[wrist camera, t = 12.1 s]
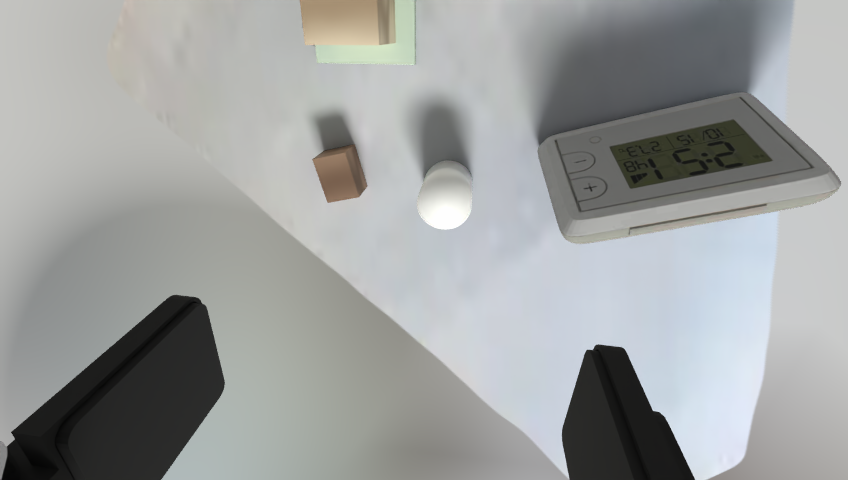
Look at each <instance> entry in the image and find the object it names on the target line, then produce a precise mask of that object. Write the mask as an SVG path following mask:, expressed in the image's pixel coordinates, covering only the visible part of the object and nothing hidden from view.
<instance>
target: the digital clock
mask: <svg viewBox="0 0 848 480" xmlns="http://www.w3.org/2000/svg"><path fill="white" fill-rule="evenodd" d="M538 156H539V160H540V164H541V167H542V171H543V174H544V178H545V181H546V185H547V188H548V192H549V195H550V199H551V202H552V206H553V209H554V213H555V216H556V220H557V223H558V226H559V229H560V231H561V233H562V235H563V236H564V238H565V239H566V240H568V241H569V242H571V243H576V244H586V243H593V242H600V241H606V240H612V239H618V238H624V237H630V236H636V235H642V234H648V233H654V232H659V231H665V230H671V229H677V228H683V227H688V226H694V225H700V224H706V223H712V222H718V221H723V220H729V219H735V218H741V217H747V216H752V215H758V214H764V213H770V212H775V211H780V210H785V209H791V208H797V207H802V206H806V205H810V204H814V203H817V202H819V201H822V200H824V199H826V198H828V197H830V196H831V195H832V194H834V193H835V192H836V191H837V190H838V189H839V187H840V186H841V181H840V179H839V178H838V176H837V175H836V174H835V172H834V171H833V170H832V169H831V168H830V166H829V165H828V164H827V163H826V162H825V161H824V160H823V159H822V158H821V157H820V156H819V155H818V154H817V153H816V152H815V151H814V150H812V149H811V148H810V147H809V146H808V145H807V144H806V143H805V142H804V141H803V140H801V139H800V138H799V137H798V136H797V135H796V134H795V133H794V132H793V131H792V130H790V129H789V128H788V127H787V126H786V125H785V124H784V123H783V122H782V121H781V120H780V119H779V118H777V117H776V116H775V115H774V114H773V113H772V112H771V111H770V110H769V109H768V108H767V107H765V106H764V105H763V104H762V103H761V102H760V101H759V100H758V99H757V98H755V97H754V96H753V95H751V94H749V93H745V92H738V93H732V94H727V95H722V96H718V97H713V98H709V99H704V100H700V101H696V102H691V103H687V104H683V105H679V106H674V107H670V108H666V109H661V110H657V111H653V112H649V113H644V114H640V115H636V116H631V117H627V118H623V119H619V120H614V121H610V122H606V123H601V124H597V125H593V126H589V127H584V128H580V129H576V130H572V131H568V132H564V133H560V134H556V135H552V136H550V137H548V138H547V139H546V140H545V141H544V142H543V143H542V144H541V145H540V146H539V147H538Z"/></svg>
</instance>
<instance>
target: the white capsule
mask: <svg viewBox="0 0 848 480" xmlns="http://www.w3.org/2000/svg"><path fill="white" fill-rule="evenodd" d="M472 189H473V181H472V177H471V174H470V172H469V171H468V169H467V168H466V167H465V166H463V165H462V164H460V163H458V162H456V161H450V160H446V161H441V162H438V163H436V164H434V165H433V166H432V167H431V168H430V169H429V170H428V172H427V174H426V176H425V179H424V182H423V184H422V187H421V190H420V192H419V195H418V198H417V208H418V211H419V214H420V216H421V217H422V219H423V220H424V221H425V222H426V223H427V224H429V225H431V226H432V227H435V228H438V229H452V228H455V227H458V226H459V225H461V224H462V223H463V222H465V220H466V219H467V218H468V216H469V214H470V212H471V207H472Z"/></svg>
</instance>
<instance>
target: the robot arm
mask: <svg viewBox="0 0 848 480" xmlns="http://www.w3.org/2000/svg"><path fill="white" fill-rule="evenodd" d="M224 384H225V382H224V377H223V373H222V368H221V365H220V360H219V356H218V352H217V348H216V344H215V340H214V335H213V331H212V327H211V323H210V319H209V315H208V311H207V308H206V306H205V305H204V304H202V303H201V300H200V299H199V298H196V297H189V296H180V295H173V296H170V297H169V298H167V299H166V300H165V301H164V302H163V303H162V304H160V305H159V306H158V307H157V308H156V309H155V310H153V311H152V312H151V313H150V314H149V315H148V316H146V317H145V318H144V319H143V320H142V321H141V322H139V323H138V324H137V325H136V326H135V327H134V328H132V330H130V331H129V332H128V333H127V334H125V335H124V336H123V337H122V338H121V339H120V340H119V341H117V342H116V343H115V344H114V345H113V346H111V347H110V348H109V349H108V350H107V351H106V352H104V353H103V354H102V355H101V356H100V357H99V358H97V359H96V360H95V361H94V362H93V363H91V364H90V365H89V366H88V367H87V368H86V369H84V371H82V372H81V373H80V374H79V375H77V376H76V377H75V378H74V379H73V380H72V381H70V382H69V383H68V384H67V385H66V386H65V387H64V388H62V389H61V390H60V391H59V392H58V393H56V394H55V395H54V396H53V397H52V398H51V399H49V400H48V401H47V402H46V403H45V404H44V405H43V406H41V407H40V408H39V409H38V410H37V411H36V412H34V413H33V414H32V415H31V416H30V417H28V418H27V419H26V420H25V421H24V422H23V423H21V424H20V425H19V426H18V427H17V428H16V429H14V430H13V431H12V432H11V433H12V434H13V436H14V438H15V440H14V441H13V442H12V443H10V444H9V445H8V446H7V447H6V446H5V445H4V443H3V442H1V441H0V480H161V479H162V478H163V476H164V475H165V473H166V472H167V471H168V469H169V468H170V466H171V465H172V464H173V462H174V461H175V459H176V458H177V456H178V455H179V454H180V452H181V451H182V450H183V448H184V447H185V445H186V444H187V442H188V441H189V440H190V438H191V437H192V436H193V434H194V433H195V431H196V430H197V429H198V427H199V425H200V424H201V423H202V421H203V420H204V419H205V417H206V416H207V414H208V413H209V411H210V410H211V409H212V407H213V406H214V405H215V403H216V402H217V400H218V399H219V398H220V396H221V394H222V392H223V390H224ZM562 442H563V448H564V453H565V458H566V463H567V468H568V473H569V478H570V480H695V479H694V477H693V474H692V472H691V470H690V468H689V466H688V464H687V462H686V460H685V458H684V456H683V453H682V451H681V449H680V447H679V445H678V443H677V441H676V439H675V437H674V435H673V432H672V430H671V428H670V426H669V424H668V422H667V421H666V419H665V417H664V416H663V415H662V414H661V413H660V412H655V411H653V410H652V408H651V406H650V404H649V401H648V399H647V397H646V395H645V392H644V390H643V388H642V386H641V384H640V381H639V379H638V377H637V375H636V373H635V370H634V368H633V366H632V364H631V361H630V359H629V357H628V355H627V353H626V351H625V349H624V348H622V347H614V346H606V345H596V346H595V347H594V349H593V350H587V351H586V352H585V355H584V358H583V362H582V365H581V368H580V372H579V375H578V378H577V382H576V385H575V388H574V392H573V395H572V398H571V402H570V405H569V408H568V412H567V415H566V418H565V422H564V425H563V429H562Z"/></svg>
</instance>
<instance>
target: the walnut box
mask: <svg viewBox="0 0 848 480" xmlns="http://www.w3.org/2000/svg"><path fill="white" fill-rule="evenodd" d="M312 160H313V162H314V165H315V168H316V171H317V174H318V177H319V180H320V182H321V185H322V188H323V191H324V194H325V197H326V200H327V202H328V203H329V202H335V201H340V200H346V199H351V198H357V197H360V195H361V194H362V193H363V191H364V190H365V189H366V187H367V183H366V180H365V177H364V173H363V170H362V167H361V164H360V160H359V157H358V154H357V150H356V147H355V144H354V145H349V146H344V147H340V148H335V149H330V150H326V151H323V152H322V153H320V154H319V155H318V156H316V157H315V158H314V159H312Z"/></svg>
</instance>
